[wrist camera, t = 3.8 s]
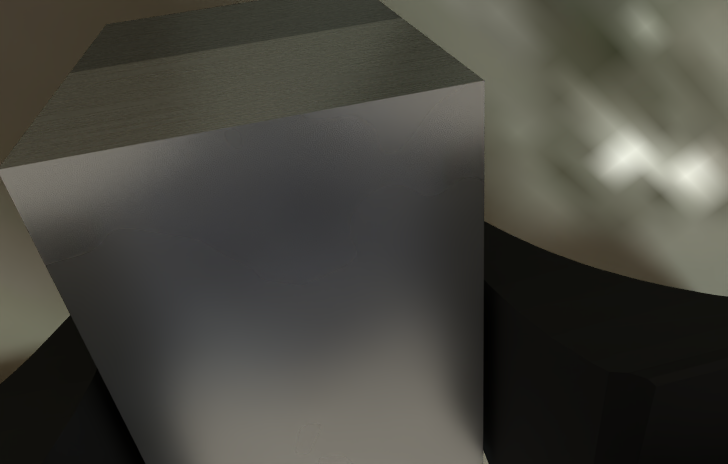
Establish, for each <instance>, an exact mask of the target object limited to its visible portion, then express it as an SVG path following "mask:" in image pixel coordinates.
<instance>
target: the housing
mask: <svg viewBox="0 0 728 464" xmlns="http://www.w3.org/2000/svg"><path fill="white" fill-rule="evenodd" d="M0 176H1V178H2V180H3V182H4V184H5V186H6V188H7V190H8V192H9V194H10V196H11V198H12V200H13V202H14V204H15V206H16V208H17V210H18V212H19V214H20V216H21V218H22V220H23V222H24V224H25V226H26V228H27V230H28V232H29V234H30V236H31V238H32V240H33V242H34V244H35V246H36V248H37V250H38V252H39V254H40V256H41V258H42V260H43V262H44V263H45V265H46V267H47V269H48V271H49V273H50V275H51V277H52V279H53V281H54V283H55V285H56V287H57V289H58V291H59V293H60V295H61V297H62V299H63V301H64V303H65V305H66V307H67V309H68V311H69V313H70V315H71V317H72V319H73V321H74V323H75V325H76V327H77V329H78V331H79V333H80V335H81V337H82V339H83V341H84V343H85V345H86V347H87V349H88V351H89V353H90V355H91V357H92V359H93V361H94V363H95V365H96V367H97V368H98V370H99V372H100V374H101V376H102V378H103V380H104V382H105V384H106V386H107V388H108V390H109V392H110V394H111V396H112V398H113V400H114V402H115V404H116V406H117V408H118V410H119V412H120V414H121V416H122V418H123V420H124V422H125V424H126V426H127V428H128V430H129V432H130V434H131V436H132V438H133V440H134V442H135V444H136V446H137V448H138V450H139V452H140V454H141V456H142V458H143V460H144V462H145V464H483V347H484V80H483V79H482V78H480V77H479V76H478V75H476V74H475V73H474V72H472V71H471V70H470V69H468V68H467V67H466V66H465V65H463V64H462V63H461V62H459V61H458V60H457V59H455V58H454V57H453V56H451V55H450V54H449V53H447V52H446V51H445V50H443V49H442V48H441V47H440V46H438V45H437V44H436V43H434V42H433V41H432V40H430V39H429V38H428V37H426V36H425V35H424V34H422V33H421V32H420V31H418V30H417V29H416V28H414V27H413V26H412V25H411V24H409V23H408V22H407V21H405V20H404V19H403V18H401V17H400V16H399V15H397V14H396V13H395V12H393V11H392V10H391V9H389V8H388V7H387V6H386V5H384V4H383V3H382V2H380V1H379V0H258V1H252V2H245V3H239V4H233V5H226V6H220V7H214V8H207V9H201V10H195V11H188V12H182V13H176V14H169V15H163V16H157V17H150V18H144V19H138V20H131V21H125V22H119V23H112V24H106V26H105V27H104V28H103V30H102V31H101V32H100V34H99V35H98V36H97V38H96V39H95V40H94V42H93V43H92V44H91V46H90V47H89V48H88V50H87V51H86V52H85V54H84V55H83V56H82V58H81V59H80V60H79V62H78V63H77V64H76V66H75V67H74V68H73V70H72V71H71V72H70V74H69V75H68V76H67V78H66V79H65V80H64V82H63V83H62V84H61V86H60V87H59V88H58V90H57V91H56V92H55V94H54V95H53V96H52V98H51V99H50V100H49V102H48V103H47V104H46V106H45V107H44V108H43V110H42V111H41V112H40V114H39V115H38V116H37V118H36V119H35V120H34V122H33V123H32V124H31V126H30V127H29V128H28V130H27V131H26V132H25V134H24V135H23V136H22V138H21V139H20V140H19V142H18V143H17V144H16V146H15V147H14V148H13V150H12V151H11V152H10V154H9V155H8V156H7V158H6V159H5V160H4V162H3V163H2V164H1V166H0Z"/></svg>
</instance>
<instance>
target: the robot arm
mask: <svg viewBox="0 0 728 464" xmlns="http://www.w3.org/2000/svg"><path fill="white" fill-rule="evenodd" d="M483 450H484V453H485V455H486V458H487V460H488V463H489V464H728V297H726V296H718V295H712V294H705V293H700V292H695V291H689V290H684V289H679V288H674V287H668V286H663V285H659V284H655V283H650V282H646V281H641V280H637V279H633V278H630V277H626V276H622V275H619V274H615V273H611V272H608V271H604V270H600V269H597V268H594V267H591V266H588V265H584V264H581V263H579V262H576V261H573V260H570V259H568V258H565V257H562V256H559V255H557V254H554V253H551V252H549V251H546V250H544V249H541V248H539V247H536V246H534V245H532V244H530V243H528V242H525V241H523V240H521V239H519V238H517V237H515V236H512V235H510V234H508V233H506V232H504V231H502V230H500V229H498V228H496V227H494V226H492V225H490V224H488V223H487V222H485V221H484V347H483ZM0 464H145V462H144V460H143V458H142V456H141V454H140V452H139V450H138V448H137V446H136V444H135V442H134V440H133V438H132V436H131V434H130V432H129V430H128V428H127V426H126V424H125V422H124V420H123V418H122V416H121V414H120V412H119V410H118V408H117V406H116V404H115V402H114V400H113V398H112V396H111V394H110V392H109V390H108V388H107V386H106V384H105V382H104V380H103V378H102V376H101V374H100V372H99V370H98V368H97V367H96V365H95V363H94V361H93V359H92V357H91V355H90V353H89V351H88V349H87V347H86V345H85V343H84V341H83V339H82V337H81V335H80V333H79V331H78V329H77V327H76V325H75V323H74V321H73V319H72V317H71V315H70V316H69V317H68V318H67V319H66V320H65V321H64V322H63V323H62V324H61V326H60V327H59V328H58V329H57V330H56V331H55V332H54V333H53V334H52V335H51V336H50V337H49V338H48V339H47V340H46V341H45V342H44V343H43V344H42V345H41V346H40V348H39V349H38V350H37V351H36V352H35V353H34V354H33V355H32V356H31V357H30V358H29V359H28V360H26V361H25V362H24V363H23V364H22V365H21V366H20V367H19V368H18V369H17V370H16V371H15V372H14V373H13V374H11V375H10V376H9V377H8V378H7V379H6V380H5V381H3V382H2V383H1V384H0Z"/></svg>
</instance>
